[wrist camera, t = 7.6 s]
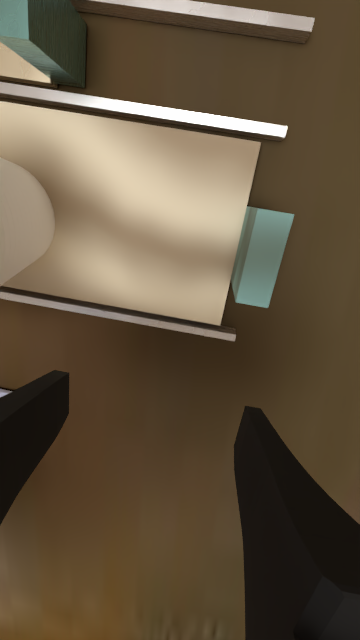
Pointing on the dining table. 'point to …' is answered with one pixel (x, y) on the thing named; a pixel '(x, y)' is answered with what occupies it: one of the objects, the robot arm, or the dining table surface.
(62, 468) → the dining table surface
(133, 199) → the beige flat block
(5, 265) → the cup
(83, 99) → the lane rails
